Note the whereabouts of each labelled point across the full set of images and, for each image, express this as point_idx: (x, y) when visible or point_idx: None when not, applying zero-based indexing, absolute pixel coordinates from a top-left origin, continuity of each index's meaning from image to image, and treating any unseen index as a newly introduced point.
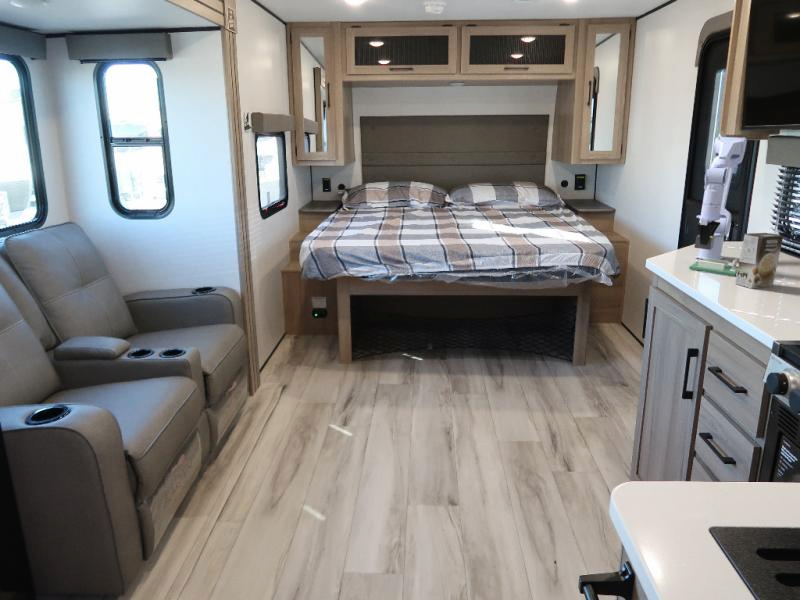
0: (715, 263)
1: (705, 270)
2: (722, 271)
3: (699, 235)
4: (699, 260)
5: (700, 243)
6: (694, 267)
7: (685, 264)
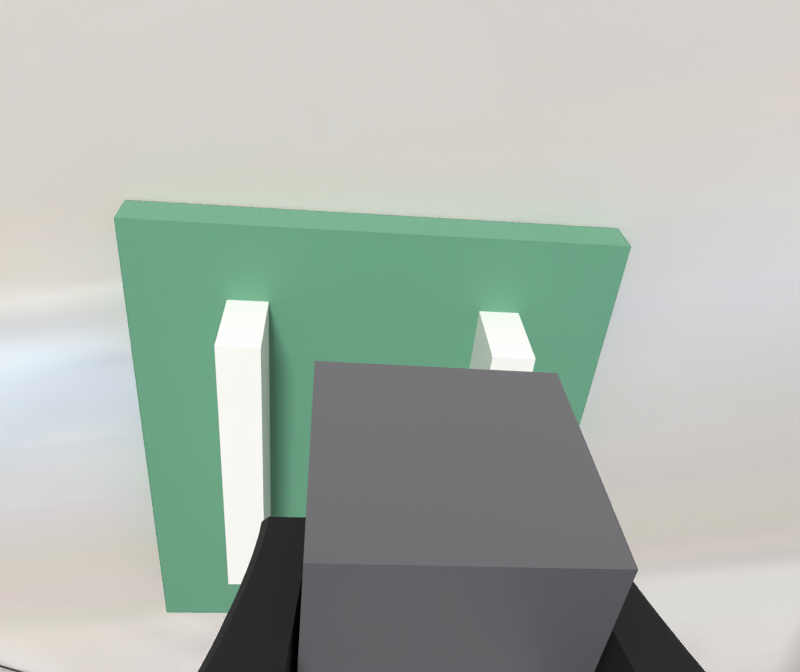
0: (226, 515)
1: (143, 387)
2: (172, 532)
3: (511, 590)
4: (250, 352)
5: (263, 528)
6: (126, 279)
7: (462, 90)
